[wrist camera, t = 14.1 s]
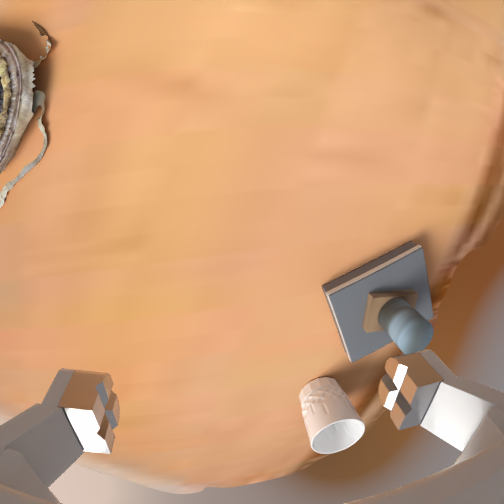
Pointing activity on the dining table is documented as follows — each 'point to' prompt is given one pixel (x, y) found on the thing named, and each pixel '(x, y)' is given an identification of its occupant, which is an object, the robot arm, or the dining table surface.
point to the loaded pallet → (378, 303)
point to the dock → (376, 280)
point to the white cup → (329, 416)
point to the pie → (17, 104)
